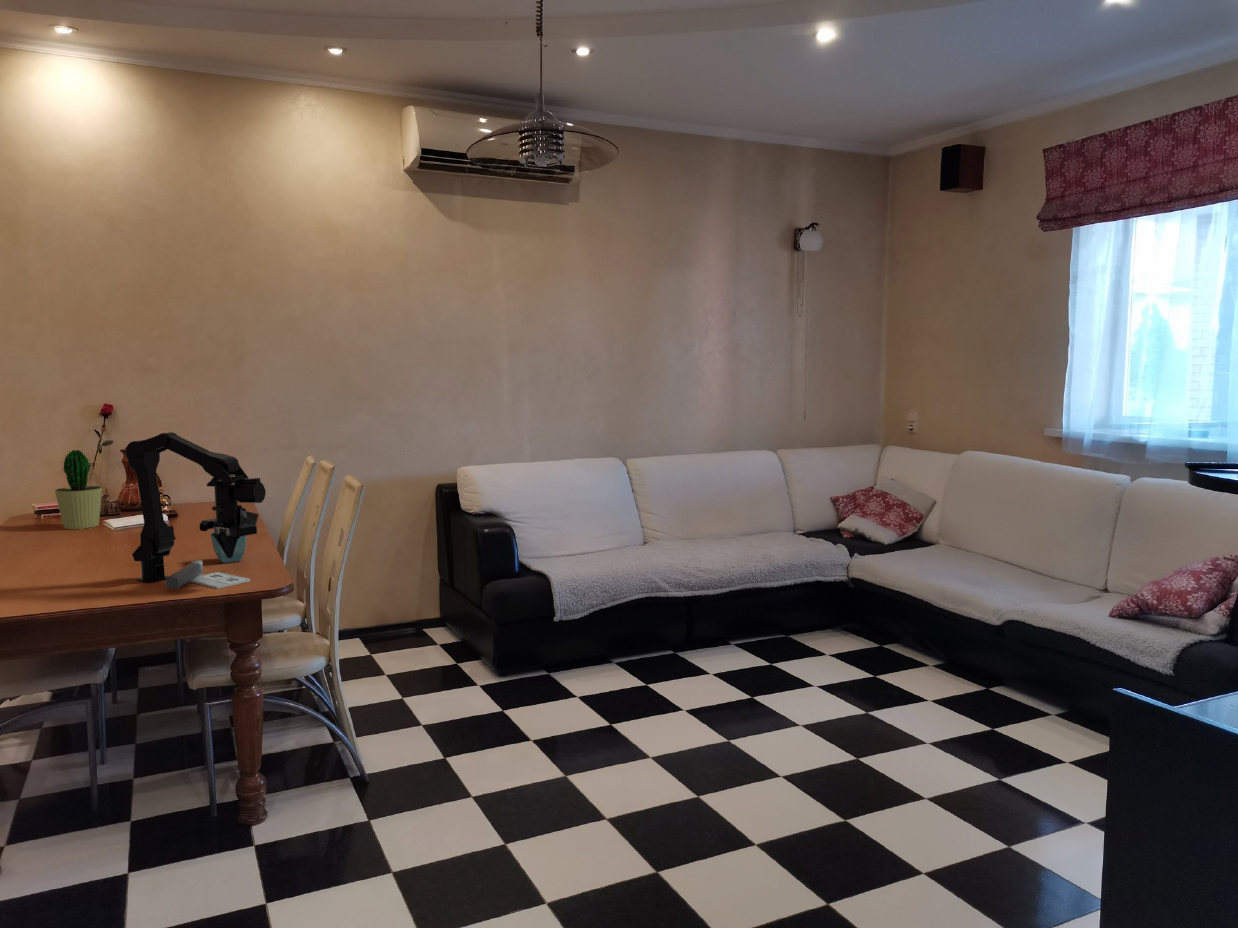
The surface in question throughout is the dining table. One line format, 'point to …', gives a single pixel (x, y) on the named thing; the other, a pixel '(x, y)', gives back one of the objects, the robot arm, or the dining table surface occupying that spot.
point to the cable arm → (184, 574)
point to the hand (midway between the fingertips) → (229, 557)
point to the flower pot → (238, 550)
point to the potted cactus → (78, 494)
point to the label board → (218, 580)
